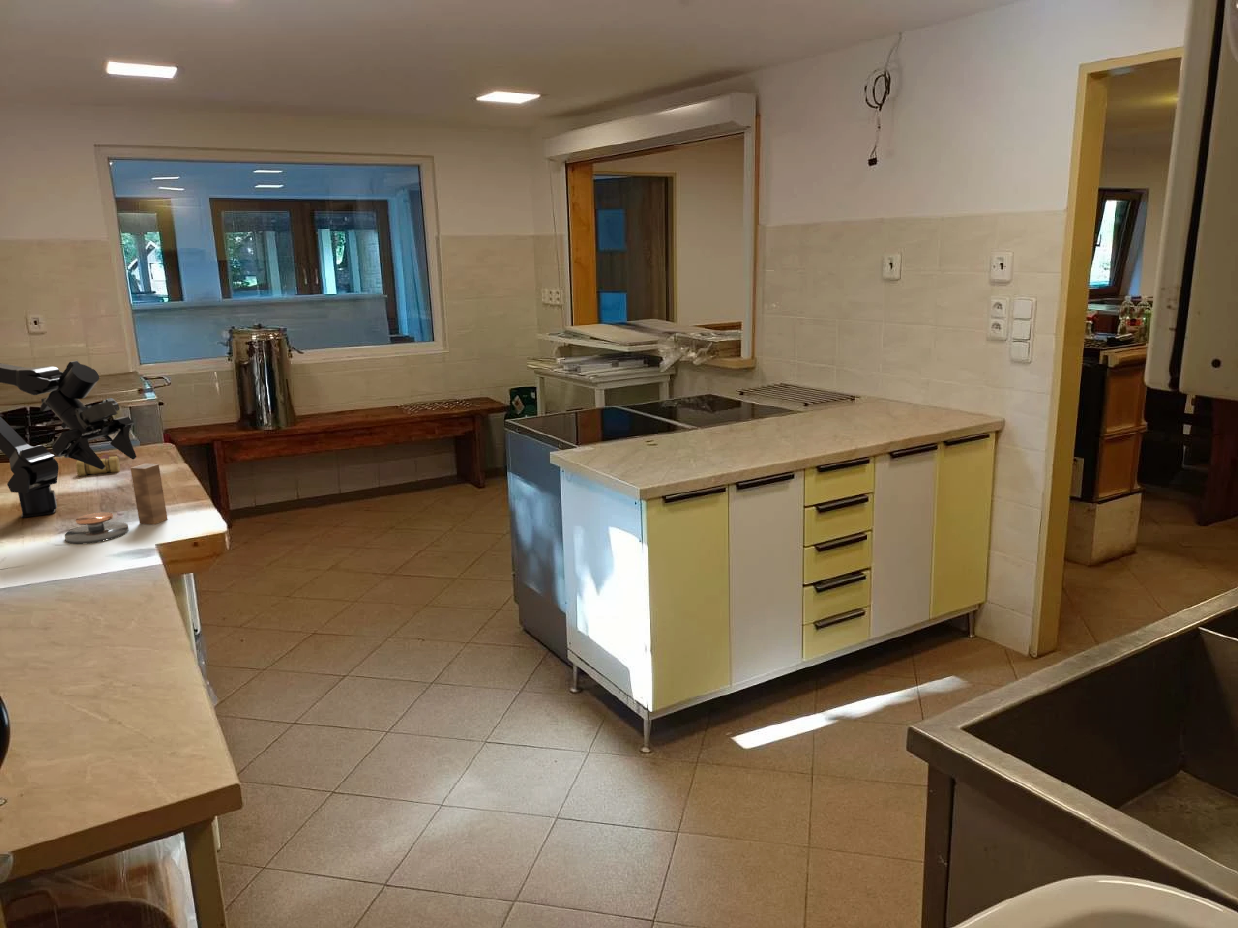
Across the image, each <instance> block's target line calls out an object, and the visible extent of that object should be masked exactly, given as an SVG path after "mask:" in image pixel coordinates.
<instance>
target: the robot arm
mask: <svg viewBox="0 0 1238 928" xmlns="http://www.w3.org/2000/svg"><path fill="white" fill-rule="evenodd" d="M99 380H100V376H99V373H98V371H96V369H94V368H92V367H90V366H88V365H86V364H81V363H80V362H79V360H73V361H69V362H68V363H67V364H66V368H65V369H64V370H63V371H61V370H60V369H59V368H58V367H57V366H53V365H50V366H48V365H47V366H46V365H45V366H32V367H30V366H29V367H25V366H18V365H12V364H7V363H3V362H2V363H0V383H1V384H7V385H11V386H15V387H17V388H18V389H19V391H22V392H24V393H27V394H29V395H32V396H38V395H43V394H48V393H49V394H48V395H47V397H45V398H41V405H40V411H42V412H45V411H50V410H52V412H53V413H54V414H55V415H56V416H57V417H58V418H59V420H61V422H62V423H61V425H60V427H61V428H62V429H63V430H65V429H69V430H66V431H62V432H61V433H60V434H59V435H58V437H57V438H56V439H55V441H54V442H53V443H52V444H51V447H52V451H53V452H54V454H56V456H57V457H58V458H60V457H63V456H64V458H66V459H73V460H76V461H77V460H78V461H81V462H84V463H86V464H89V465H91V466H94V467H96V468H99V469H101V470H102V469H104V468H105V465H104V464H103V462H102V461H101V460H100V457H99V456H98V455H97V454H96V452H95V451H94V450H93V449H92V447H91V446H90V443H89V441H92V440H96V439H100V438H103V437H104V438H105V439H106V440H107V441H109V442H110V443H109V445H110V446H112V447H114V448H115V449H116V450H118V451H119V452H120V453H122V454H124V456H127V458H130V459H132V460H135V459H136V458H137V454H136V452H135V449H134V446H133V444H132V442H131V438H130V432H131V430H132V428H133V426H134V425H135V422H134V421H133V419H131V418H130V417H129V416H119V417H117V418H113V419H112V420H111V421H110V422H109V423H108V418H110V417H112V416H116V415H118V411H119V410H120V407H121V406H120V405H119V403H118V401H116V400H115V399H114V398H112V397H109V398H106V399H105V400H102V401H101V402H100V403H95V404H94V405H85V404H84V402H82V400H84V399H85V398H87V397H88V395H89V394H90V392H91V391H92V390H93V388H94V387H95V386H96V384H97V383H98V381H99ZM81 399H82V400H81ZM107 423H108V424H107ZM106 424H107V426H104V425H106ZM0 451H1V452H2V453H3V454H5V456H6V457H7V458H8V459H9V467H10V471H11V472H12V476H11V478H9V480H8V482H7V487H8V489H9V491H10V492H11V493H17V494H18V498H19V503H20V508H21V515H20V516H21V517H20V518H21V519H24V518H30V517H36V516H37V517H38V516H39V517H40V516H45V515H51V514H54V513H55V512H56V510H57V508H58V504H57V503H58V502H57V497H56V492H55V490H54V489H53V490H52V486H51V485H56V484H57V483H58V475H59V470H60V469H59V468H60V466H59V463H58V461H57V459H55V457H56V456H55V455H54V454H52V453H51V452H50V451H49V450H48V448H47V447H45V446H44V445H43V444H40V445H36V446H32V445H30V444H28V443H27V441H26V440H25V439H23V438H22V436H21V435H20V434H18V433H17V432H16V430H14V428H13V427H11V425H9V424H8V423H7V422H6V421H5V419H3V417H1V416H0Z"/></svg>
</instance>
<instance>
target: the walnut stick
mask: <svg viewBox="0 0 1238 928" xmlns="http://www.w3.org/2000/svg"><path fill="white" fill-rule="evenodd" d="M129 470H130V474H131V480H132V486H133V492H134V499H135V503H136V509H137V515H138V521H139V524H141V525H153V526H154V525H157V524H160V523H162V522H165V521H167V520H168V513H167V507H166V501H165V500H166V499H165V495H164V494H165V493H164V489H163V483H162V477H161V471H160V464H159V463H142V464H138V465H135V466H132V467H130V469H129Z"/></svg>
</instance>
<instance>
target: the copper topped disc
mask: <svg viewBox="0 0 1238 928" xmlns="http://www.w3.org/2000/svg"><path fill="white" fill-rule="evenodd" d="M113 518H114V514H113V513H112V512H108V511H105V512H104V511H101V512H93V513H88V514H84V515H81V516H78V517H77V518H75V524H77V525H81V526H78V527H75V528H73V529H71V530H69V531H67V532H66V533H64V539H65V542H66V543H69V544H73V545H75V544H76V545H84V544H83V543H87V544H93V543H92V542H96V543H99V542H98V541H101V542H104V541H103V540H106V539H110V540H112V539H111V538H114V539H116V538H115V537H117V538H119V537H122V536H124V535H126V534H127V533H128V532H129V525H128V523H126V522H124V521H110V520H112V519H113ZM125 533H126V534H125ZM123 534H124V535H123ZM121 535H122V536H121ZM118 536H119V537H118ZM106 541H107V540H106Z"/></svg>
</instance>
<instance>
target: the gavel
mask: <svg viewBox="0 0 1238 928" xmlns="http://www.w3.org/2000/svg"><path fill="white" fill-rule="evenodd" d="M99 458H100V460H101V461H102V462H103V464H104V465H105V468H104V469H102V470H101V469H99V468H96V467H94V466H91V465H89V464H86V463H84V462H81V461H78V460H76V462H75V468H76V472H77V473H76V474H77V476H78V477H82V476H85V477H86V476H88V475H98V474H99V475H100V474H107V473H111V474H113V473H119V472H120V471H121V465H120V460H119V456H118V455H117V456H110V454H108V453H107V454H103V455H101V456H100V457H99Z"/></svg>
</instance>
